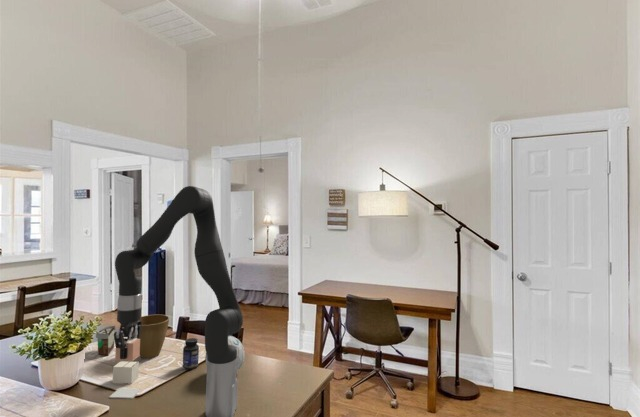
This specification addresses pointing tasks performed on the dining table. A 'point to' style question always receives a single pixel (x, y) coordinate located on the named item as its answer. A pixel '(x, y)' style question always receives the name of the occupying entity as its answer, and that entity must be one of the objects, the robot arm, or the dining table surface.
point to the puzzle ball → (240, 351)
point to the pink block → (130, 350)
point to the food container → (105, 340)
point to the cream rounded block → (125, 372)
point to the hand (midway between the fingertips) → (127, 355)
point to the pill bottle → (190, 354)
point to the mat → (125, 393)
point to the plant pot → (152, 335)
